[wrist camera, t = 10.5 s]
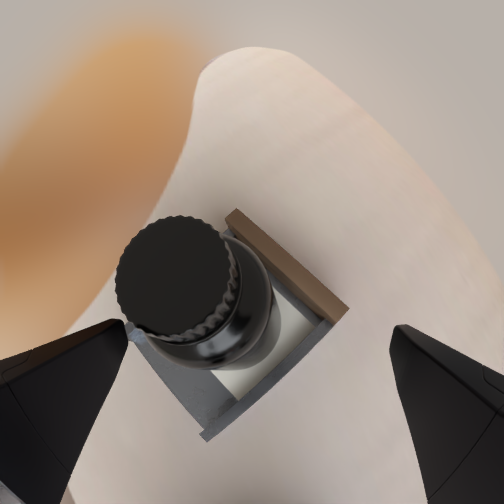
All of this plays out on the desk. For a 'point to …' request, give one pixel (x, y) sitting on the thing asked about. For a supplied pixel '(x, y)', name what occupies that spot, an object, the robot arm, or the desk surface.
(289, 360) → the grey tray
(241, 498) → the desk surface
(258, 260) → the supplement bottle
